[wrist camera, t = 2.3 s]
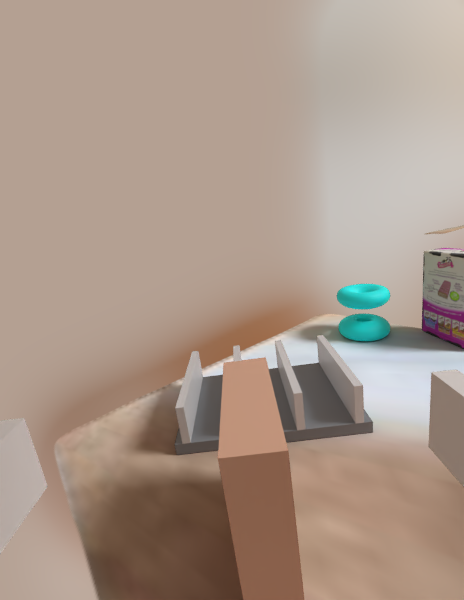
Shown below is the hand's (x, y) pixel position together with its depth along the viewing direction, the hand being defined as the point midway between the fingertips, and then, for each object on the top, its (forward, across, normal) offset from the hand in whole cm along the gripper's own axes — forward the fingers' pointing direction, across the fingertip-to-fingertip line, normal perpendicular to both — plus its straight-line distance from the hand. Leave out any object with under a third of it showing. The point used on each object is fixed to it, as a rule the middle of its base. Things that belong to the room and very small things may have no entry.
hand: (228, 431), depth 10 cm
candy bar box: (+45, +40, -20) cm, 63 cm away
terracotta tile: (+12, +1, -20) cm, 24 cm away
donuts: (+52, +26, -20) cm, 61 cm away
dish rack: (+31, +3, -20) cm, 37 cm away
